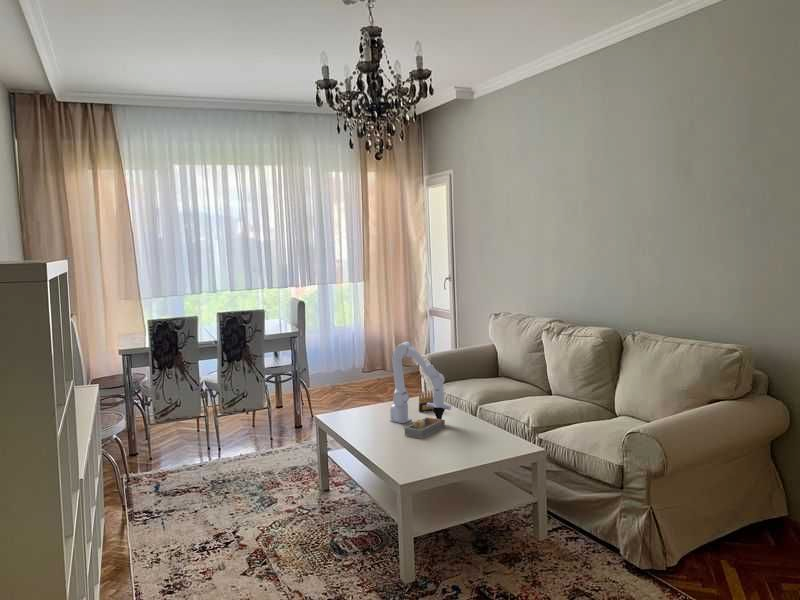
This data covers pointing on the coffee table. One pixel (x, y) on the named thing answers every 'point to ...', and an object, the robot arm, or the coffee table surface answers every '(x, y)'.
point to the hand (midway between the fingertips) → (439, 421)
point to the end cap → (434, 421)
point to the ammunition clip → (425, 401)
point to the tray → (424, 432)
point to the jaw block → (419, 424)
